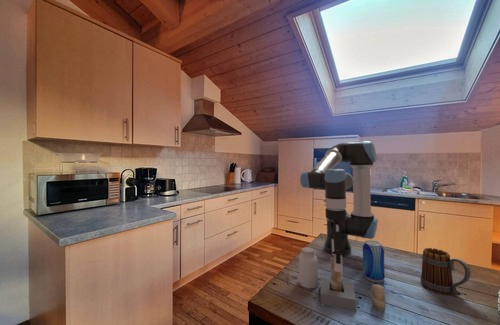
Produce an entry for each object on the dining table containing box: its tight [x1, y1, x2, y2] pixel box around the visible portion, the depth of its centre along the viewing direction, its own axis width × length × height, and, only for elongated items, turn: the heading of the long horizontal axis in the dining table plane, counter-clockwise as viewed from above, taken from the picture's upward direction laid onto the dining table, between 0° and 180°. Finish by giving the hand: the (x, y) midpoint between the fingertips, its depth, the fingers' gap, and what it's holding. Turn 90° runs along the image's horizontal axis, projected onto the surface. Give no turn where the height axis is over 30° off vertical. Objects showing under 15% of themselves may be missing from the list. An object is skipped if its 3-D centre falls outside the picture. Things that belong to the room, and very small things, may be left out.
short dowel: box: [371, 284, 386, 312], centre depth 76 cm, size 4×4×7 cm
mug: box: [420, 247, 471, 296], centre depth 85 cm, size 16×11×15 cm
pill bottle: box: [298, 246, 319, 289], centre depth 91 cm, size 8×8×15 cm
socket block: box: [319, 276, 357, 312], centre depth 82 cm, size 12×12×4 cm
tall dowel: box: [330, 256, 343, 292], centre depth 82 cm, size 4×4×15 cm
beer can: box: [362, 239, 385, 283], centre depth 95 cm, size 8×8×16 cm
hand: (336, 262), depth 82 cm, fingers open, 13 cm apart
